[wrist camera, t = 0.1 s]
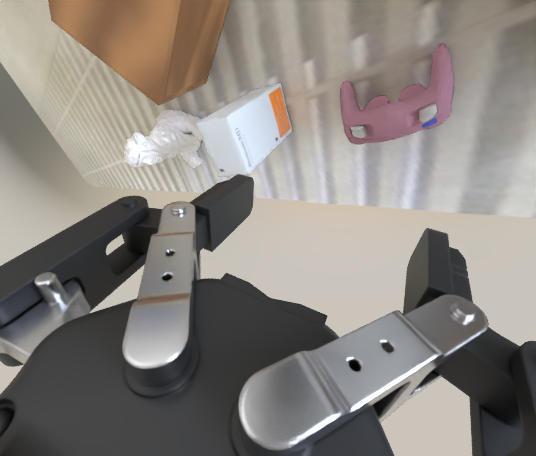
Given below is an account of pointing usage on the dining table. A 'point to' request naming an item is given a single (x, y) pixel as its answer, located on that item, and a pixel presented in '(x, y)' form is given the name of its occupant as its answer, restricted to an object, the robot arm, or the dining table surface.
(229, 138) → the cosmetic box
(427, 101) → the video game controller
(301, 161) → the dining table surface
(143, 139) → the seated beast figurine
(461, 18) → the dining table surface
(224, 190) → the robot arm
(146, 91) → the cabinet
